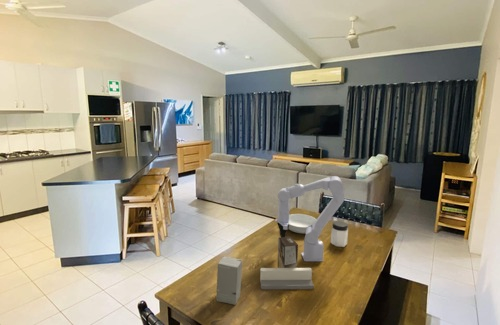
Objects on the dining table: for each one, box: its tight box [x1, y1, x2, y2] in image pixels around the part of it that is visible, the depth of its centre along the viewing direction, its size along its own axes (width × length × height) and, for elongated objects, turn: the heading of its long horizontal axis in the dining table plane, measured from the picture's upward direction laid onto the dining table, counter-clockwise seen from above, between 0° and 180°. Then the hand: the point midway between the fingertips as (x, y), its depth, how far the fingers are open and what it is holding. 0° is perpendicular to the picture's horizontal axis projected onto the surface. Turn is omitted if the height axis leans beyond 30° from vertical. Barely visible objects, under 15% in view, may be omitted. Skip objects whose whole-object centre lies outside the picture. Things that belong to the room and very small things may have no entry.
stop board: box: [259, 267, 315, 290], centre depth 114 cm, size 22×6×6 cm, turn 92°
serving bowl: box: [287, 213, 317, 235], centre depth 169 cm, size 21×21×7 cm
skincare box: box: [215, 255, 243, 306], centre depth 105 cm, size 8×7×16 cm
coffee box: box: [277, 236, 299, 268], centre depth 122 cm, size 9×6×16 cm
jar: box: [330, 220, 349, 248], centre depth 151 cm, size 9×8×12 cm
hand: (282, 236), depth 139 cm, fingers closed
